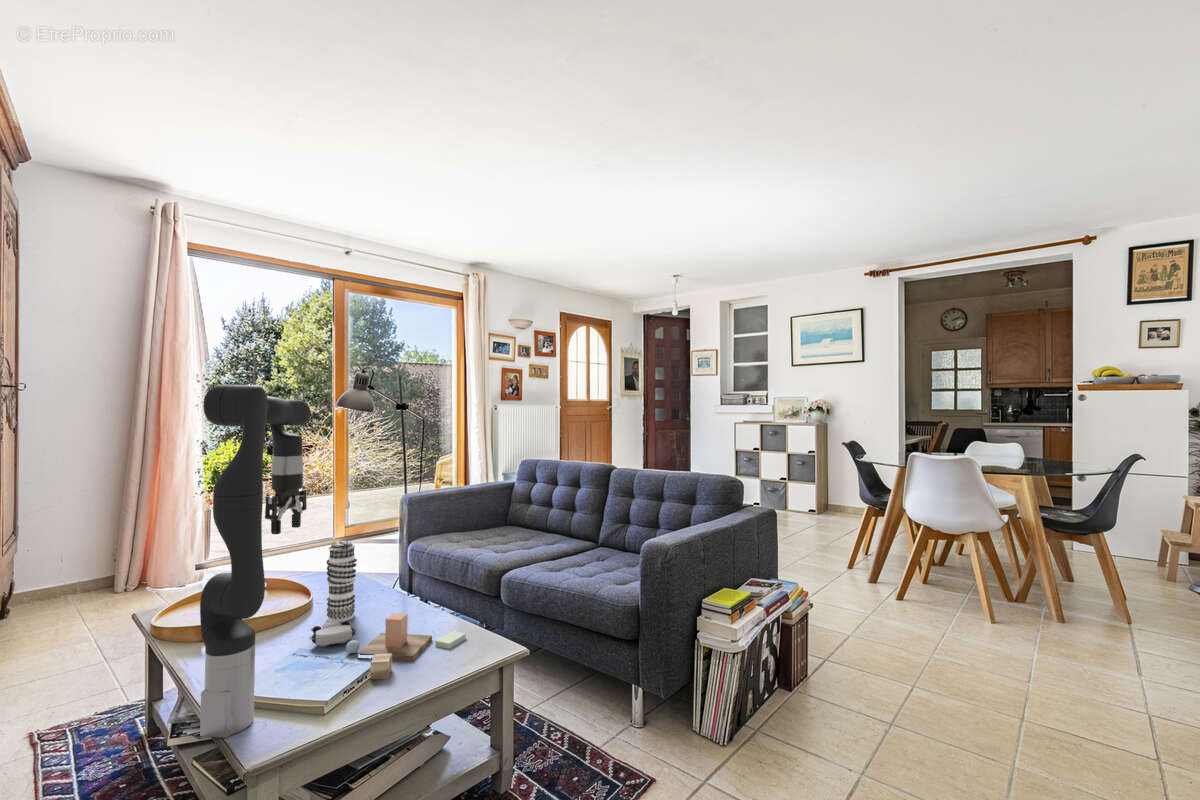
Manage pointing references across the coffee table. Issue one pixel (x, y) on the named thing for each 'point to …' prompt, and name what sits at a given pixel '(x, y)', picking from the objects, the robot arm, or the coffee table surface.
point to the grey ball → (352, 646)
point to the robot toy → (332, 633)
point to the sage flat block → (450, 639)
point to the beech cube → (381, 666)
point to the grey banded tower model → (341, 581)
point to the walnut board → (404, 653)
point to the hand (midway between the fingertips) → (286, 530)
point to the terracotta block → (396, 630)
